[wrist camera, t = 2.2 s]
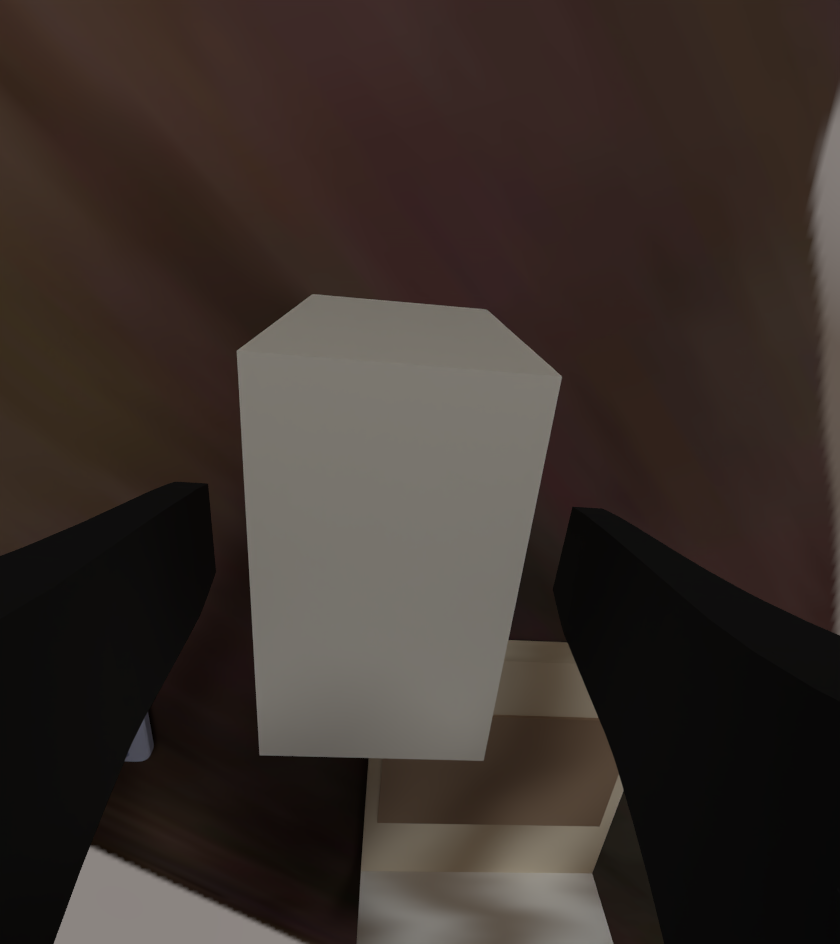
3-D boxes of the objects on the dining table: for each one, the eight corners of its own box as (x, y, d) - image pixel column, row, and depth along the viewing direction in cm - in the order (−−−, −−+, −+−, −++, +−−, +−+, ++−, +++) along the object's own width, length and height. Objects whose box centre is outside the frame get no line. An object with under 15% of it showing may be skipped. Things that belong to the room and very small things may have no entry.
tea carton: (305, 556, 17) (249, 755, 10) (305, 293, 13) (221, 349, 7) (451, 563, 17) (483, 760, 11) (485, 309, 14) (561, 376, 7)
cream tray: (361, 862, 23) (354, 977, 20) (377, 634, 18) (371, 736, 14) (578, 864, 24) (610, 976, 21) (657, 646, 19) (719, 746, 15)
